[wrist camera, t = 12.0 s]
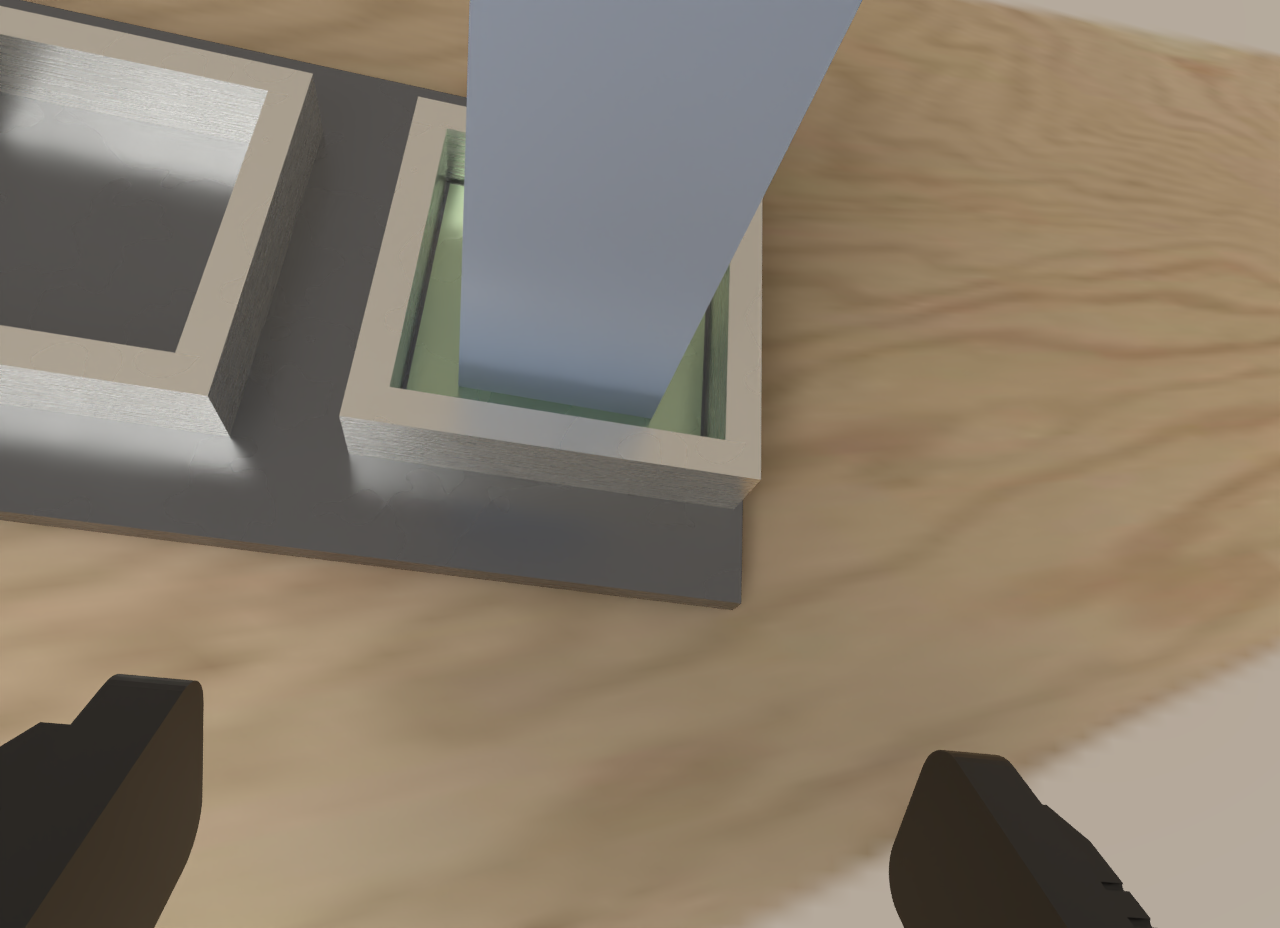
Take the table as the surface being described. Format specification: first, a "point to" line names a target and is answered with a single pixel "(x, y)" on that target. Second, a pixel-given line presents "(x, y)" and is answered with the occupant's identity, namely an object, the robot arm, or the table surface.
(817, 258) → the table surface
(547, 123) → the plug
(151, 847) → the robot arm
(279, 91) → the panel
